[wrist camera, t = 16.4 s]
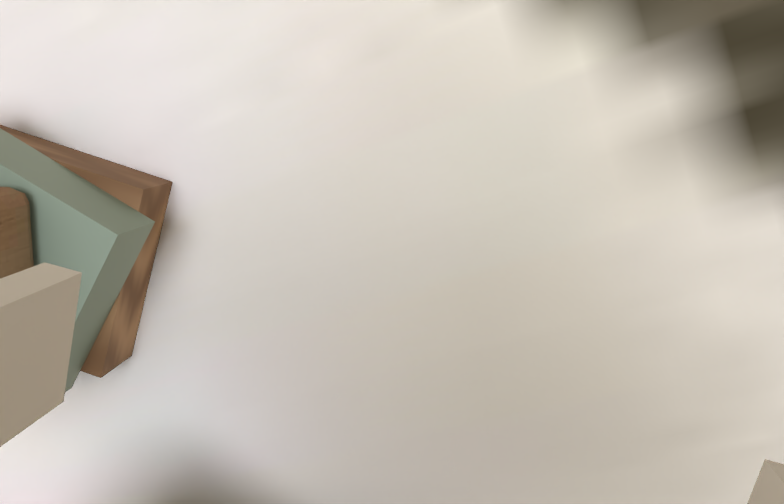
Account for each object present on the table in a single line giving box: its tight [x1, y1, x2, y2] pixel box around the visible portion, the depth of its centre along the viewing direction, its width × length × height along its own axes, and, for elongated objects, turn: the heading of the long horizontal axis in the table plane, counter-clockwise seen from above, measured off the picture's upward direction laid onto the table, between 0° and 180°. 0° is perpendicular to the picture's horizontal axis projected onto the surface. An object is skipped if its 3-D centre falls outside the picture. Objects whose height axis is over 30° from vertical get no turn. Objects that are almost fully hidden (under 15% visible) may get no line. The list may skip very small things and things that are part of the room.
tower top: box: [0, 128, 155, 392], centre depth 47 cm, size 14×14×5 cm
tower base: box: [0, 125, 172, 378], centre depth 51 cm, size 14×14×5 cm
